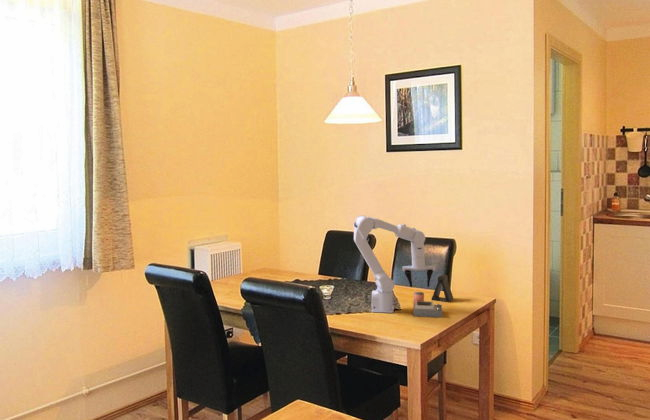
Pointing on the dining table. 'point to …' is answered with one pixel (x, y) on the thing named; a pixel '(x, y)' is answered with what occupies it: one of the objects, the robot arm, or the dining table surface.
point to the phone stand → (446, 288)
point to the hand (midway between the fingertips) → (419, 286)
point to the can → (418, 296)
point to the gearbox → (427, 309)
